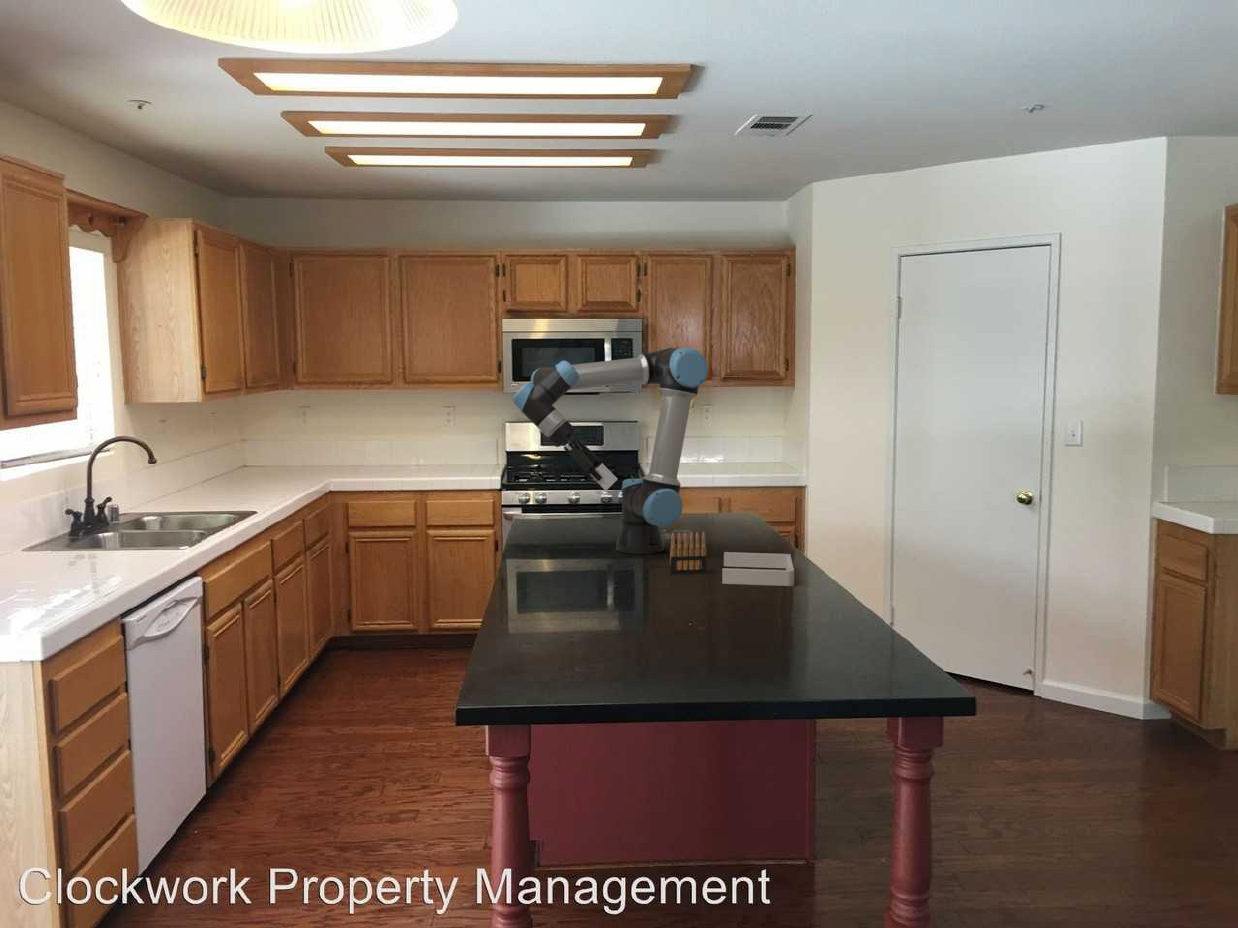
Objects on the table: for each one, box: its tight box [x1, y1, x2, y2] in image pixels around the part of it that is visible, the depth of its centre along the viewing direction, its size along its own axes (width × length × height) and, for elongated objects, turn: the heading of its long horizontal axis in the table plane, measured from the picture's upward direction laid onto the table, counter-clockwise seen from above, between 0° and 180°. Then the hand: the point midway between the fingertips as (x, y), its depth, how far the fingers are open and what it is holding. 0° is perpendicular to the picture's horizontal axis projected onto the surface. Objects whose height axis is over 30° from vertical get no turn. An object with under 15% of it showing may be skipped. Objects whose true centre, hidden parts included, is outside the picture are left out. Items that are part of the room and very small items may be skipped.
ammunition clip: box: [668, 531, 708, 575], centre depth 263 cm, size 11×2×12 cm, turn 98°
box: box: [721, 551, 795, 587], centre depth 261 cm, size 22×19×4 cm
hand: (611, 484), depth 263 cm, fingers open, 10 cm apart
